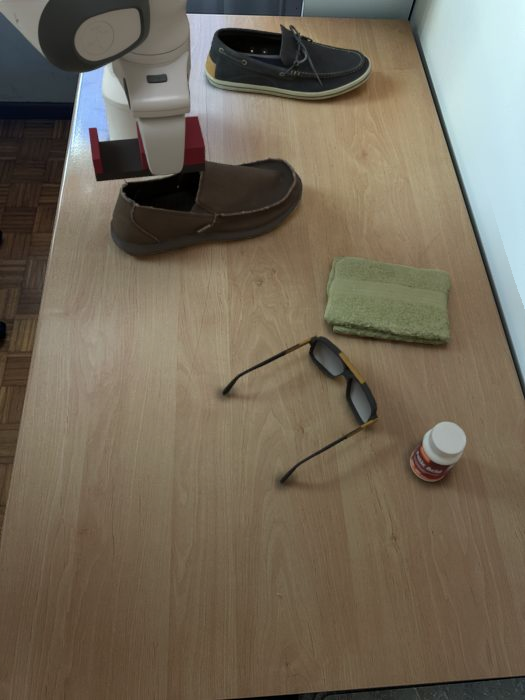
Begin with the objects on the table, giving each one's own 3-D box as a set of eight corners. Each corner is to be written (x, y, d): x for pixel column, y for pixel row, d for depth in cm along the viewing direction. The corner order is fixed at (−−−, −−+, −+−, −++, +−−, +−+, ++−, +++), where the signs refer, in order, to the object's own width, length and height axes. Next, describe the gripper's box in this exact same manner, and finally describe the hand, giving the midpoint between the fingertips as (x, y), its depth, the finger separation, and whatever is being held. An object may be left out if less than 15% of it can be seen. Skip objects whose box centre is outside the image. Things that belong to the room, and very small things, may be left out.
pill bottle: (402, 466, 82) (420, 438, 75) (422, 439, 84) (442, 410, 77) (434, 490, 81) (456, 465, 74) (454, 462, 83) (477, 435, 76)
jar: (115, 108, 112) (103, 25, 99) (172, 110, 113) (168, 28, 100) (109, 156, 106) (95, 74, 93) (169, 158, 107) (163, 77, 94)
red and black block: (96, 181, 84) (91, 157, 81) (92, 149, 87) (88, 124, 84) (205, 171, 87) (205, 147, 83) (198, 139, 90) (197, 115, 86)
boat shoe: (369, 107, 117) (381, 61, 109) (203, 96, 115) (202, 48, 107) (365, 68, 123) (376, 21, 115) (206, 57, 121) (206, 9, 113)
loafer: (314, 219, 102) (324, 167, 93) (130, 280, 94) (121, 230, 85) (282, 172, 107) (288, 118, 98) (104, 226, 99) (93, 173, 90)
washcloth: (329, 260, 98) (332, 246, 96) (447, 279, 98) (454, 266, 95) (320, 333, 91) (323, 320, 89) (447, 354, 91) (454, 342, 88)
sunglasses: (221, 395, 85) (222, 376, 81) (318, 345, 90) (323, 325, 86) (280, 484, 80) (284, 469, 75) (380, 426, 85) (389, 408, 80)
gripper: (113, 0, 79) (125, 98, 90) (132, 116, 68) (143, 210, 80) (166, -3, 80) (172, 95, 91) (193, 111, 69) (195, 204, 81)
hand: (158, 149), depth 86 cm, fingers closed on red and black block, 6 cm apart
